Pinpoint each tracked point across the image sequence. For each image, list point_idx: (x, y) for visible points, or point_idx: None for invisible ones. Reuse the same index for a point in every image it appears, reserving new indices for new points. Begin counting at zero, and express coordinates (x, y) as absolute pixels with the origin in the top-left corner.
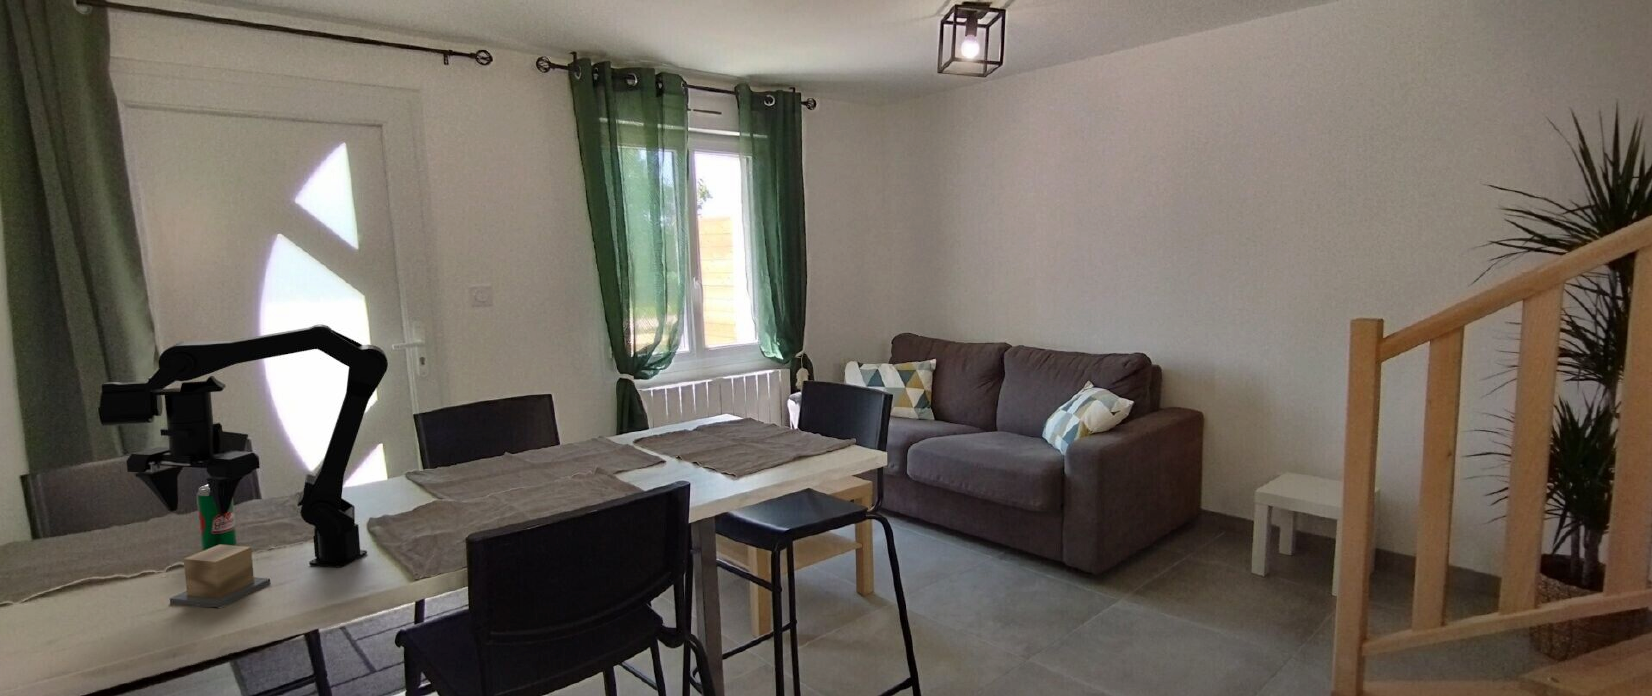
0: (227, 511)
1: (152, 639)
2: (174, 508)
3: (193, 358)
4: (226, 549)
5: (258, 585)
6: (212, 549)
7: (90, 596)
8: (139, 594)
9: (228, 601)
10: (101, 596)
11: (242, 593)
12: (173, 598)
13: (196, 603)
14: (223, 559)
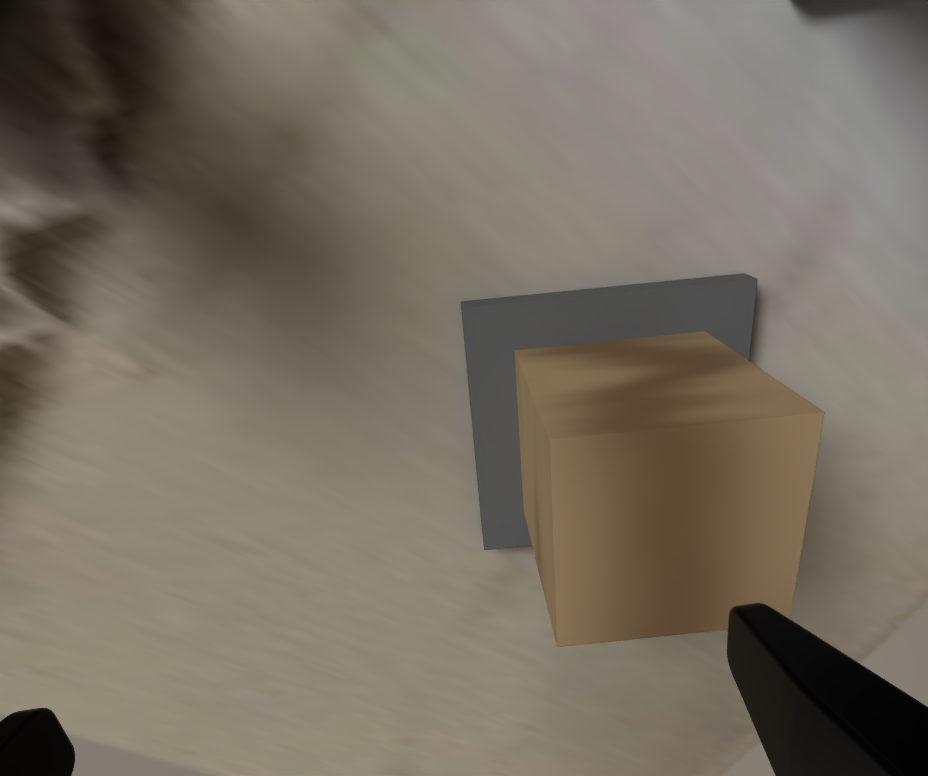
0: (777, 618)
1: (690, 694)
2: (46, 757)
3: None
4: (686, 488)
5: (748, 345)
6: (587, 511)
7: (97, 584)
8: (265, 520)
9: None
10: (139, 572)
11: None
12: (502, 547)
13: None
14: (794, 583)
